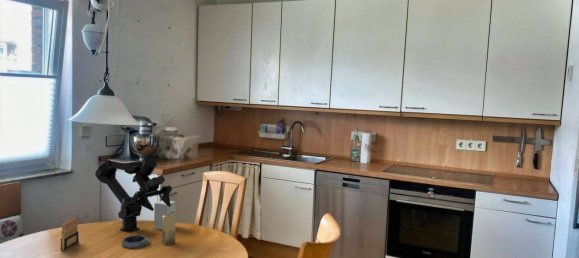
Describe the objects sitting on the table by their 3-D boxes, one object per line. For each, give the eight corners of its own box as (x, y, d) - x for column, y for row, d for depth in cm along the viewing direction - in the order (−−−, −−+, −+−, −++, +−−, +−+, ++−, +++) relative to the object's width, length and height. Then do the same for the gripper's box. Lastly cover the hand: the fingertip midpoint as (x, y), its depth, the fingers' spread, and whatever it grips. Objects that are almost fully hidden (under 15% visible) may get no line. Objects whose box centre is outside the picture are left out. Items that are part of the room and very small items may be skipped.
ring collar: (116, 245, 184) (116, 240, 184) (136, 238, 194) (136, 233, 194) (133, 250, 179) (133, 245, 179) (153, 243, 188) (153, 238, 188)
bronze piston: (159, 243, 188) (159, 215, 187) (168, 240, 192) (169, 212, 191) (168, 246, 185) (168, 217, 184) (177, 242, 190) (178, 215, 189)
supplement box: (166, 230, 206) (166, 204, 205) (153, 228, 208) (153, 202, 207) (175, 226, 213) (175, 201, 212) (163, 224, 215) (163, 199, 214)
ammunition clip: (64, 251, 176) (64, 222, 175) (60, 250, 176) (60, 222, 175) (78, 242, 187) (78, 215, 186) (74, 242, 187) (74, 215, 186)
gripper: (134, 173, 186) (151, 200, 180) (168, 168, 201) (185, 192, 195) (124, 190, 191) (141, 217, 185) (158, 184, 206) (175, 208, 200)
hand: (161, 208), depth 191 cm, fingers open, 9 cm apart
